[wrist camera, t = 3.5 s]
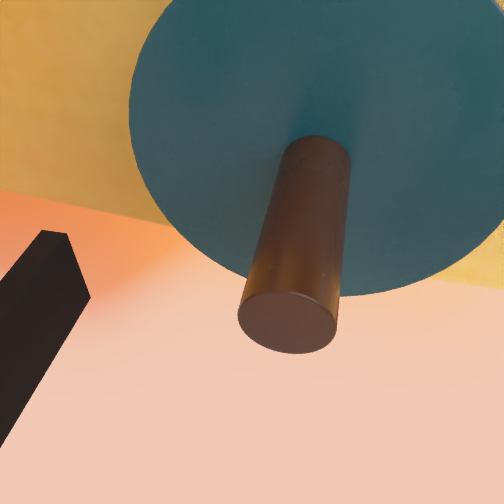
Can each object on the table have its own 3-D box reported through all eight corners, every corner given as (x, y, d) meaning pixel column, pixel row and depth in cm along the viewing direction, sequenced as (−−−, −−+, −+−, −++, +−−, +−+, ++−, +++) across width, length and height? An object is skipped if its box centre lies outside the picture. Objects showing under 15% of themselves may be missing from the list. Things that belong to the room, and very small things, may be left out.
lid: (166, 256, 24) (92, 409, 18) (101, -84, 14) (-112, 3, 8) (458, 298, 22) (486, 488, 16) (627, -69, 12) (875, 65, 6)
